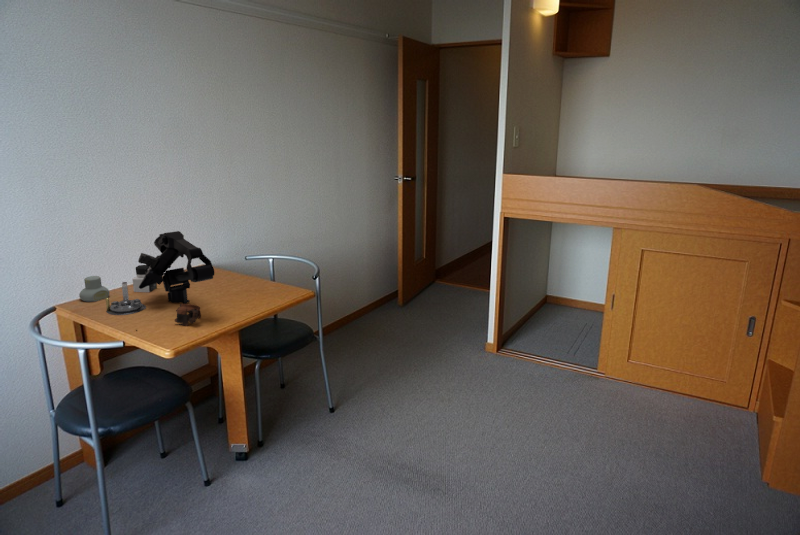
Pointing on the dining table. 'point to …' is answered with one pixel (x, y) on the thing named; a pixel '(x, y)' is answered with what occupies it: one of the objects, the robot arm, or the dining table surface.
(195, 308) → the pottery mug
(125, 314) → the flange
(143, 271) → the medicine bottle
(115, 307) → the grey studded disc
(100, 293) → the air freshener
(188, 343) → the dining table surface
